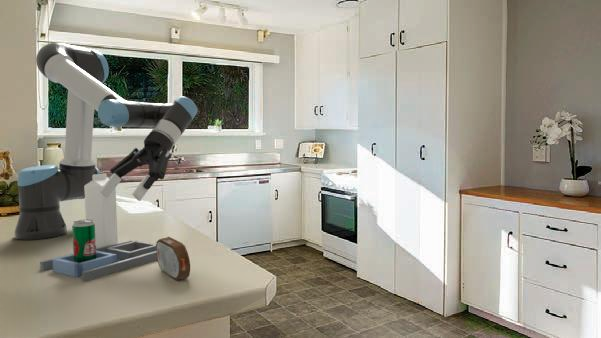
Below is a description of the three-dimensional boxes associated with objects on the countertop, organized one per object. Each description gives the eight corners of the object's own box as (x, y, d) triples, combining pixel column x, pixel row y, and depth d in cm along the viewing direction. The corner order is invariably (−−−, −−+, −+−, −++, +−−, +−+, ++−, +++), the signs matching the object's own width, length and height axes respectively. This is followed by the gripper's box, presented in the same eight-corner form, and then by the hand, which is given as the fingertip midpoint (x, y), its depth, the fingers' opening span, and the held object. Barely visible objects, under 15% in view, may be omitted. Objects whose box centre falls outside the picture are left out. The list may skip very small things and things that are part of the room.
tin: (192, 282, 97) (190, 244, 96) (178, 285, 95) (177, 247, 94) (167, 266, 109) (166, 233, 108) (154, 269, 107) (153, 235, 106)
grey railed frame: (40, 269, 108) (39, 257, 107) (130, 246, 130) (129, 236, 130) (85, 281, 98) (84, 268, 98) (173, 254, 120) (173, 243, 120)
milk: (87, 250, 126) (82, 174, 125) (101, 245, 132) (97, 173, 131) (105, 251, 125) (101, 174, 123) (118, 246, 131) (115, 173, 129)
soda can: (87, 272, 105) (85, 223, 104) (69, 271, 106) (67, 222, 105) (101, 266, 110) (99, 219, 109) (83, 265, 111) (81, 218, 110)
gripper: (200, 148, 123) (159, 207, 112) (141, 147, 136) (100, 201, 125) (185, 128, 118) (141, 189, 107) (126, 130, 131) (81, 184, 120)
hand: (119, 196), depth 116 cm, fingers open, 13 cm apart
